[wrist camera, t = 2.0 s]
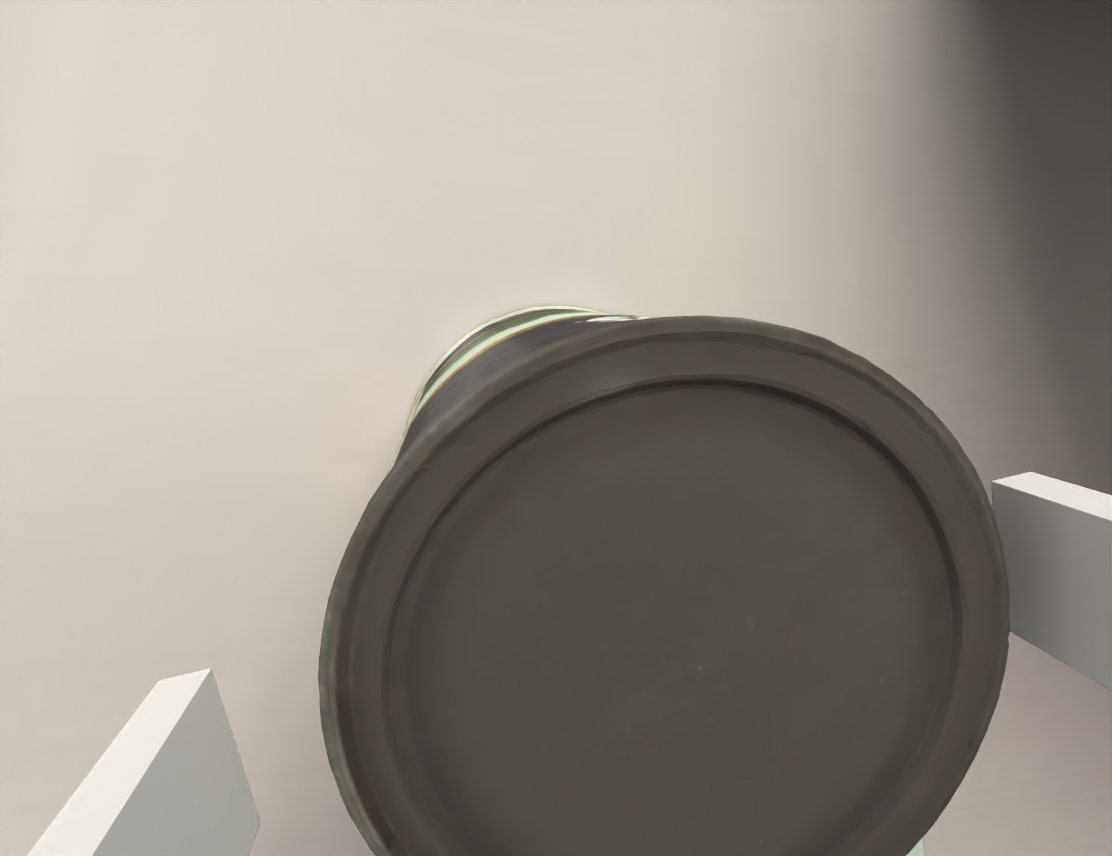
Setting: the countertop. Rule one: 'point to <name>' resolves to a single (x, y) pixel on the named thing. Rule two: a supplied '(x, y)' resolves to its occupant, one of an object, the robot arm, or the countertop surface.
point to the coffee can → (662, 601)
